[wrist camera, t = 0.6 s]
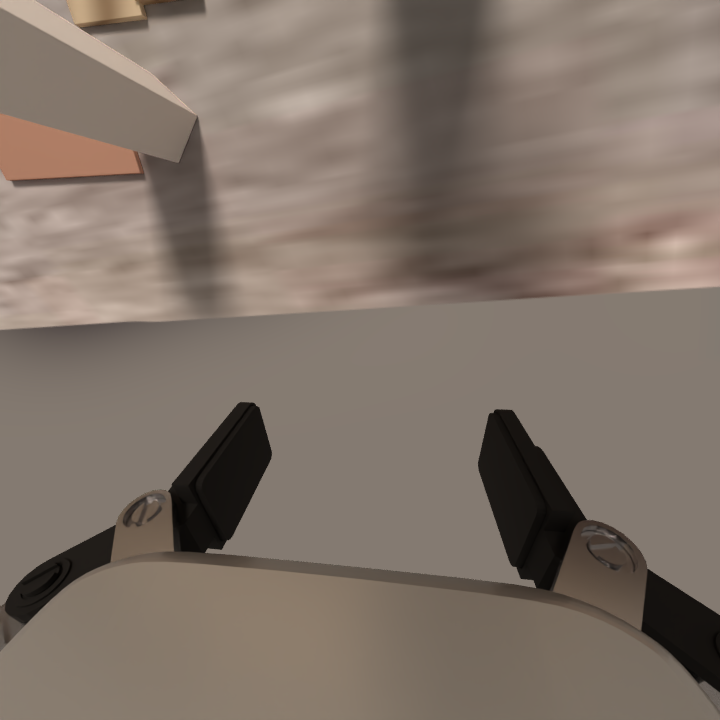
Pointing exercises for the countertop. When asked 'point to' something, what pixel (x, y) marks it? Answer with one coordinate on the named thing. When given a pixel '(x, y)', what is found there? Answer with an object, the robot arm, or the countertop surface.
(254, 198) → the countertop surface
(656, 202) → the countertop surface
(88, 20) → the turner
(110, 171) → the mat
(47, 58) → the milk
